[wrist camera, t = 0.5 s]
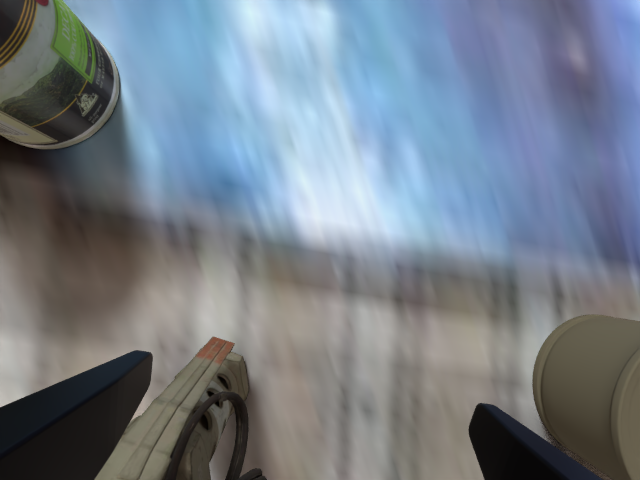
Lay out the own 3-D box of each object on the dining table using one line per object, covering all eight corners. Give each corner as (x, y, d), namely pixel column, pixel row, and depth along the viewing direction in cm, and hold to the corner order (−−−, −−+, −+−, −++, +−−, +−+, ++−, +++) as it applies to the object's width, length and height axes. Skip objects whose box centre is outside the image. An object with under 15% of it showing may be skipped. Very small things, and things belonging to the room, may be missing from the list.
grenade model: (262, 425, 23) (204, 737, 8) (172, 397, 22) (-74, 670, 7) (291, 341, 23) (287, 480, 8) (204, 313, 23) (37, 405, 8)
